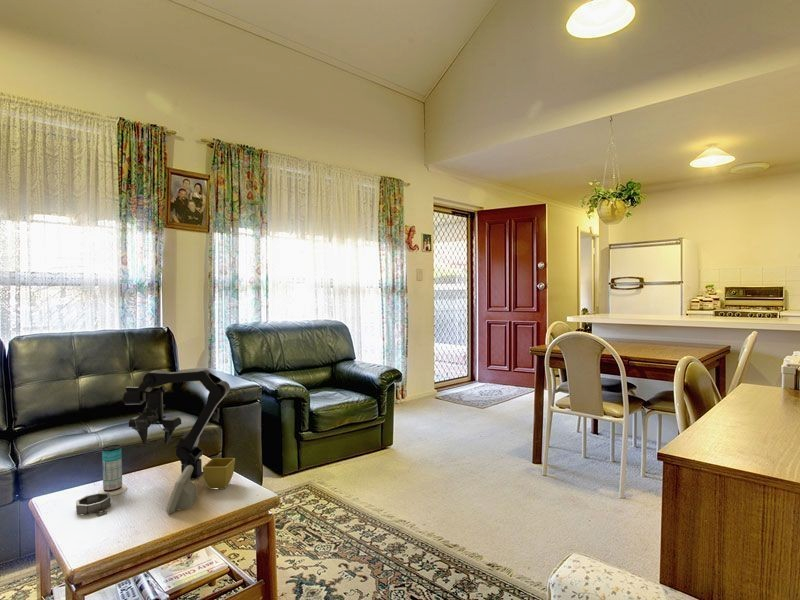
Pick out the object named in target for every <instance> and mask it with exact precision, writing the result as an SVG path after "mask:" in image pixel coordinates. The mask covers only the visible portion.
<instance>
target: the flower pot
mask: <svg viewBox="0 0 800 600" xmlns="http://www.w3.org/2000/svg"><path fill="white" fill-rule="evenodd" d="M235 460H236V458H235V457H224V458H223V457H220V458H219V457H213V458H211V459H209V460H208V462H207V463H205V464H204V465H203V466H202V472H203V473H204V474H203V478H204V482H205V484H206V486H207V487H208V489H210V488H224V489H225V488H226V487H227V486H228V485H229V483H230V482H231V481H232V478H233V475H234V470H235V465H236V464H235V463H236V461H235Z"/></svg>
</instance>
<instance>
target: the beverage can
mask: <svg viewBox="0 0 800 600" xmlns="http://www.w3.org/2000/svg"><path fill="white" fill-rule="evenodd" d="M101 450H102V451H101V458H102V460H101V462H102V486H103V487H102V488H103V489H104V491H106V492H111V491H116V490H118V489H120V488H121V487H122V484H123V462H122V461H123V458H122V456H123V455H122V445H120V444H113V445H107V446H105V447H103V448H101Z"/></svg>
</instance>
